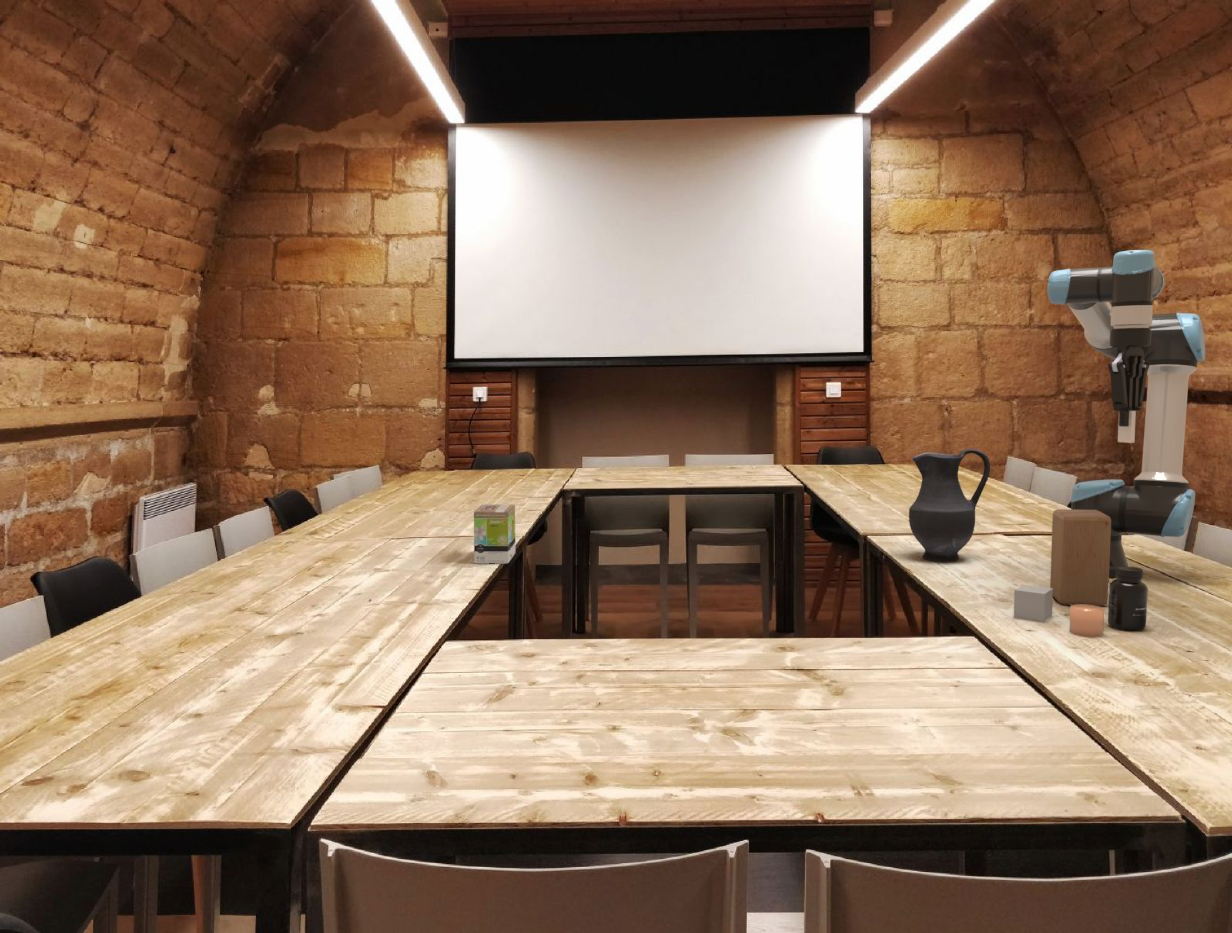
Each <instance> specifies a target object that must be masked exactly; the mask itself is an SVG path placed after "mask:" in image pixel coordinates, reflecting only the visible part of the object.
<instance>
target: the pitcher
mask: <svg viewBox="0 0 1232 933" xmlns="http://www.w3.org/2000/svg"><path fill="white" fill-rule="evenodd" d="M969 454H974V455H976V456H977V457H980V459H981V460H982V461H983V474H982V477H981V479H980V481H979V483H978V485H977V487H976V489H975V491H974V493H973V494H972V497H971V498H970V499H967V498H966V496H965V494H964V491H963V489H962V487H961V484H960V481H959V468H960V465H961V462H962V460H963V459H964V458H965V456H967V455H969ZM912 461H913V463H914V465H915V466H916V468H917V469H918V472H919V473H920V475H921V478H922V479H921V484H920V488H919V492H918V495H917V497H916V499H915V500H914V502H913V503H912V505H911V506H909V509H908V522H909V527H910V530H911V532H912V534H913V536H914V538H915V539H916V540H917V542H918V543H919V544H920V545H921V546H922V548H923V549H924V552H923V554H922V555H921V558H922V559H924V560H927V561H931V562H938V563H939V562H940V563H941V562H942V563H949V562H951V563H953V562H958V561H959V560H960V556H959V554H958V553H959V552H960V551H961V550H962V549H963V548H964V547H965V546H966V545H967V544H968V543H969V542H970V540H971V538H972V537H973V534H974V531H975V525H976V507H977V504H978V503H979V500H980V497H981V496H982V493H983V491H984V489H985V487H986V484H987V481H988V480H989V476H990V472H991V463H990V459H989V458H988V456H987V454H986V453H984V452H983V451H981V450H979V449H977V448H967V449H963V450H962V451H960V452H959V454H954V453H953V454H952V453H936V452H924V453H920V454H918V455H915V456H913V457H912Z"/></svg>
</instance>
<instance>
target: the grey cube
mask: <svg viewBox="0 0 1232 933" xmlns="http://www.w3.org/2000/svg"><path fill="white" fill-rule="evenodd" d="M1013 594H1014V596H1013V597H1014V598H1013V618H1014V619H1021V620H1027V621H1034V622H1039V623H1040V622H1041V623H1045V622H1046V621H1048V620H1049V619H1050V618H1051V617H1053V603H1054V601H1053V598H1054V597H1053V588H1050V587H1043V586H1036V585H1029V584H1022V585H1020V586H1019V587H1017V588H1015V589H1014V593H1013Z"/></svg>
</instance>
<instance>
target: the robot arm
mask: <svg viewBox="0 0 1232 933" xmlns="http://www.w3.org/2000/svg"><path fill="white" fill-rule="evenodd" d="M1164 287H1165V277H1164V274H1163V273H1162V272H1161V270H1160V269H1159V268H1158V267H1156V262H1155V253H1154V251H1153V250H1150V249H1135V250H1134V249H1133V250H1125V251H1124V250H1123V251H1119V252H1116V253H1115V254H1114V255H1113V261H1112V266H1101V267H1098V266H1097V267H1086V268H1085V267H1083V268H1082V267H1081V268H1066V269H1059V270H1054V271H1052V272H1051V273H1050V275H1049V276H1048V281H1047V289H1046V290H1047V297H1048V298H1047V299H1048V301H1049V302H1050V303H1051V304H1053V305H1061V306H1063V305H1067V306H1068V308H1069V309H1070V310H1071V312H1072V313H1073V315H1074V316H1075V317H1076V319H1077V320H1078V322H1079V323H1080V324H1081V326H1082V328H1083V329H1084V330H1083V331H1084V334H1083V335H1084V338H1085V340H1086V342H1087V343H1088V344H1089V345H1090V346H1091V348H1093V349H1094V350H1095V351H1097V352H1098V353H1100V354H1102V355H1104V356H1106V357H1108V358H1111V359H1113V360H1114V361H1109V362H1108V363H1107V366H1108V367H1107V368H1108V371H1109V376H1110V386H1111V387H1110V389H1111V398H1112V400H1111V401H1112V407H1113V411H1118V424H1117V429H1118V430H1117V443H1129V444H1131V443H1134V444H1135V438H1136V413H1137V411H1142V406H1143V401H1144V394H1145V389H1146V382H1147V390H1146V406H1145V419H1144V420H1145V421H1144V433H1143V434H1144V435H1143V449H1142V450H1143V451H1142V460H1141V461H1142V462H1141V463H1142V464H1141V472H1140V473H1139V475H1137V476H1136V477H1135V478H1134V479H1133V486H1129V485H1125V484H1126V483H1125V482H1124V480H1123V479H1119V478H1118V479H1116V478H1115V479H1096V480H1094V479H1093V480H1088V481H1081V482H1078V483H1076V484H1075V485H1074V486H1073V487H1072V491H1071V499H1070V505H1071V506H1070V510H1097V511H1100V512H1101V513H1103V514H1105V515H1107V516H1109V517H1110V519H1111V536H1110V561H1109V578H1117V577H1116V576H1115V574H1116V567H1120V566H1129V563H1128V559H1127V556H1126V554H1125V550H1124V547H1123V544H1122V537H1123V536H1122V535H1123V533H1124V534H1132V535H1133V534H1134V535H1143V536H1144V535H1145V536H1156V537H1162V538H1165V537H1168V538H1169V537H1173V538H1174V537H1175V538H1179V537H1182V536H1184V535H1186V533H1187V531H1188V529H1189V528H1190V524H1191V520H1192V517H1193V514H1194V508H1195V502H1196V501H1195V500H1196V491H1195V490H1193V489H1191V488H1189V484H1190V482H1189V481H1188V480H1187V479H1186V478H1185V477H1184V476H1183V465H1184V464H1183V462H1184V451H1185V450H1184V449H1185V437H1186V436H1185V434H1186V422H1187V419H1186V418H1187V407H1188V406H1187V404H1188V390H1189V378H1190V376H1191V375H1192V374H1193V373H1194V372H1195V371H1196V370H1197V369H1198V368H1197V366H1198V365H1197V364H1198V363H1201V362H1204V361H1205V360H1206V342H1205V339H1206V338H1205V333H1204V327H1203V326H1204V325H1203V321H1202V319H1201V318H1200V316H1199V315H1198V314H1196V313H1185V312H1182V313H1181V312H1176V313H1174V312H1173V313H1157V314H1156V313H1155V314H1154V313H1153V308H1154V307H1153V306H1154V305H1153V304H1154V302H1153V299H1155V298H1156V297H1158V296H1159V295H1160V294H1161V292H1162V291H1163V289H1164ZM1147 379H1148V380H1147Z"/></svg>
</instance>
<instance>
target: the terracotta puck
mask: <svg viewBox="0 0 1232 933" xmlns="http://www.w3.org/2000/svg"><path fill="white" fill-rule="evenodd" d="M1069 606H1070V607H1069V608H1070V609H1069V633H1070V634H1071V635H1072V634H1073V635H1076V636H1080V637H1089V638H1090V637H1091V638H1097V637H1102V636H1104V624H1105V623H1104V622H1105V608H1104V607H1103V606H1094V605H1086V604H1076V605H1069Z"/></svg>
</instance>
